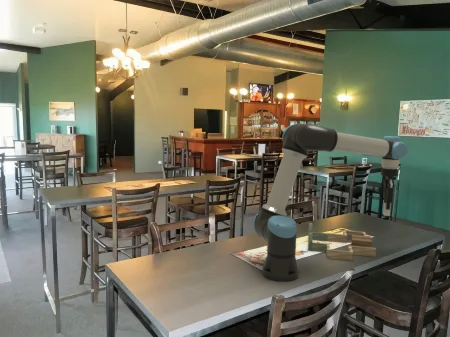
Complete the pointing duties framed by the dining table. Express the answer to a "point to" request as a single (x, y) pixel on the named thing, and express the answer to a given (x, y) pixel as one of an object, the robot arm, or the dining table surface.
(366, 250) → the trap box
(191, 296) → the dining table surface
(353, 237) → the block
